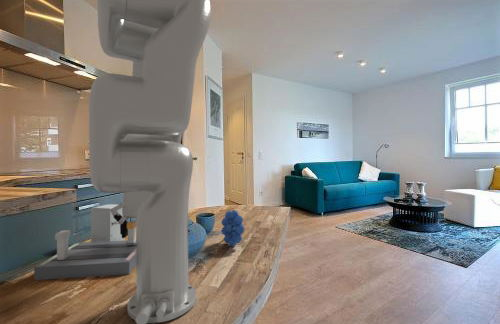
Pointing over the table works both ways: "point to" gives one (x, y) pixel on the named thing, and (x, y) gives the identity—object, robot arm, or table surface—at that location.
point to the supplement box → (105, 224)
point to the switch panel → (87, 259)
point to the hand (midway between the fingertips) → (142, 236)
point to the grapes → (232, 227)
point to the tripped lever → (131, 233)
